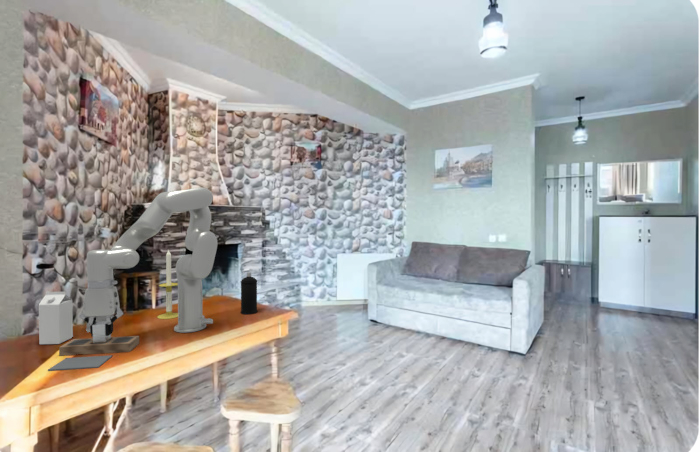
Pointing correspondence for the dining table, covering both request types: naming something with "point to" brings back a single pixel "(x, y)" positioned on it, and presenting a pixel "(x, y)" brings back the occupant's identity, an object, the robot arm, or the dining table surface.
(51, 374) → the dining table surface
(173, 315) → the candle
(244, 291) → the aerosol can
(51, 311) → the milk carton
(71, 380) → the dining table surface
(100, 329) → the grey rectangular block
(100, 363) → the mat
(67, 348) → the rail
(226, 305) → the dining table surface
